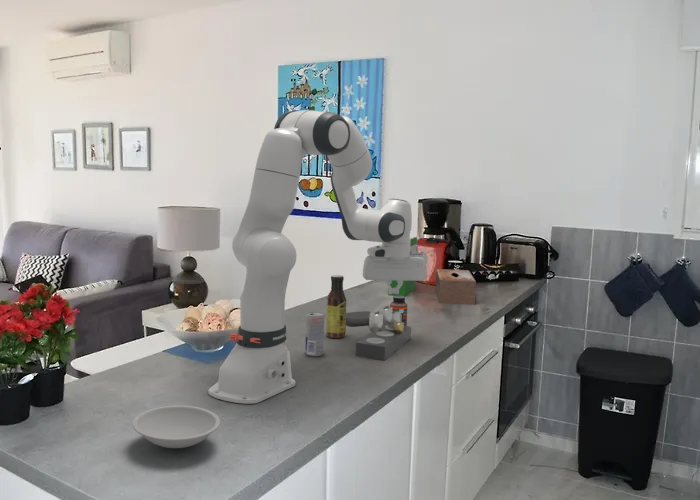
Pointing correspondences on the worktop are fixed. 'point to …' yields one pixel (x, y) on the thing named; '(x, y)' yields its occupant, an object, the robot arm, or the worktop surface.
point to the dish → (176, 425)
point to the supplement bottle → (400, 307)
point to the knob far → (395, 318)
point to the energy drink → (314, 334)
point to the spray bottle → (357, 318)
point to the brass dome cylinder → (398, 327)
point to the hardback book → (407, 285)
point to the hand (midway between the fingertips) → (393, 294)
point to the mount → (382, 343)
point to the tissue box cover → (455, 287)
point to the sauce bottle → (336, 309)
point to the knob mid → (386, 315)
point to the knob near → (376, 321)
